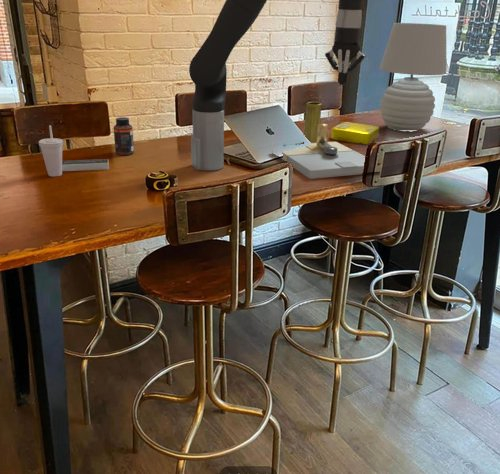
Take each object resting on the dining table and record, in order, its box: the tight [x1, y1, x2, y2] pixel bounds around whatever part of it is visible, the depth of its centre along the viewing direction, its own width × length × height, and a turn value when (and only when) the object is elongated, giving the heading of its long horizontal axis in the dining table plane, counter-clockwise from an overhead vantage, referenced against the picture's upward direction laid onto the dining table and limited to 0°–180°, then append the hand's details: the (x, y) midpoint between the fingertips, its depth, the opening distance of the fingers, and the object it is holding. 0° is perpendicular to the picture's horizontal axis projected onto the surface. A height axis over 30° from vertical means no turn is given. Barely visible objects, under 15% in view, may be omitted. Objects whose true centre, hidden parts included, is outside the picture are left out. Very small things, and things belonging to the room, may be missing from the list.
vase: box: [303, 101, 323, 143], centre depth 186 cm, size 6×6×14 cm
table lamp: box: [379, 22, 447, 131], centre depth 205 cm, size 25×25×40 cm
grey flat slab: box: [282, 141, 365, 180], centre depth 166 cm, size 24×28×3 cm
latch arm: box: [316, 122, 337, 156], centre depth 167 cm, size 14×4×7 cm, turn 10°
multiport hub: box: [62, 158, 110, 172], centre depth 153 cm, size 4×14×2 cm, turn 104°
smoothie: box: [38, 124, 64, 177], centre depth 144 cm, size 6×6×14 cm
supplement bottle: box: [113, 116, 135, 156], centre depth 167 cm, size 6×6×11 cm
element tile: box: [330, 121, 380, 145], centre depth 197 cm, size 15×15×5 cm
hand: (342, 84), depth 166 cm, fingers closed
